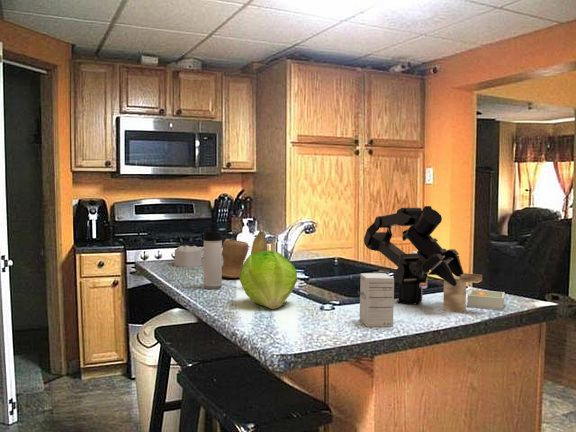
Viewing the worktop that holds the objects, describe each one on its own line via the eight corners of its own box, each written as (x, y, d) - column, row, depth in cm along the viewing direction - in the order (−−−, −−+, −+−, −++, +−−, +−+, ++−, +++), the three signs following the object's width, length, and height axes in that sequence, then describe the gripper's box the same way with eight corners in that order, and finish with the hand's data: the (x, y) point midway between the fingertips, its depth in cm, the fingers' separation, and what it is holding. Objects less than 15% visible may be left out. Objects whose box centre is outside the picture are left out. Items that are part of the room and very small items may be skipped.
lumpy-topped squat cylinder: (183, 267, 231) (183, 248, 230) (169, 264, 241) (169, 245, 240) (204, 265, 237) (204, 246, 237) (190, 262, 247) (190, 244, 247)
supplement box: (358, 319, 141) (359, 272, 140) (386, 319, 141) (387, 272, 141) (365, 327, 133) (366, 277, 133) (393, 326, 134) (394, 277, 133)
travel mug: (199, 288, 182) (199, 231, 181) (209, 285, 188) (209, 229, 187) (215, 290, 180) (215, 231, 179) (224, 287, 186) (225, 230, 185)
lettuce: (233, 315, 150) (256, 276, 143) (230, 270, 167) (251, 232, 160) (286, 329, 157) (311, 293, 149) (278, 284, 173) (300, 249, 166)
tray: (467, 306, 158) (467, 295, 158) (470, 300, 167) (470, 289, 167) (503, 310, 154) (503, 298, 154) (504, 303, 163) (504, 292, 163)
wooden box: (443, 310, 153) (444, 273, 152) (448, 307, 157) (449, 271, 156) (476, 314, 148) (477, 277, 147) (481, 311, 152) (482, 274, 151)
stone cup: (254, 277, 206) (254, 239, 206) (230, 281, 198) (230, 241, 197) (230, 273, 217) (230, 236, 216) (206, 276, 209) (206, 238, 208)
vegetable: (257, 291, 179) (257, 232, 178) (246, 288, 184) (246, 231, 183) (270, 288, 183) (271, 231, 182) (259, 286, 188) (259, 230, 187)
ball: (474, 303, 161) (477, 295, 160) (474, 296, 164) (477, 288, 162) (485, 305, 161) (488, 298, 159) (485, 299, 163) (488, 291, 161)
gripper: (416, 256, 169) (449, 294, 164) (393, 263, 154) (429, 305, 148) (441, 233, 164) (476, 272, 159) (420, 237, 149) (458, 280, 143)
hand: (460, 283), depth 152 cm, fingers open, 9 cm apart
